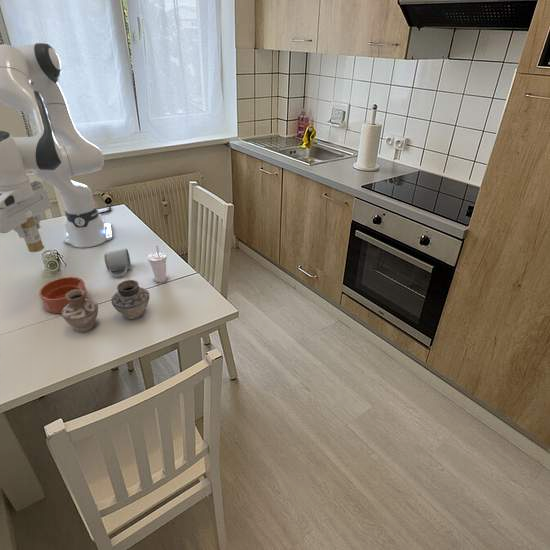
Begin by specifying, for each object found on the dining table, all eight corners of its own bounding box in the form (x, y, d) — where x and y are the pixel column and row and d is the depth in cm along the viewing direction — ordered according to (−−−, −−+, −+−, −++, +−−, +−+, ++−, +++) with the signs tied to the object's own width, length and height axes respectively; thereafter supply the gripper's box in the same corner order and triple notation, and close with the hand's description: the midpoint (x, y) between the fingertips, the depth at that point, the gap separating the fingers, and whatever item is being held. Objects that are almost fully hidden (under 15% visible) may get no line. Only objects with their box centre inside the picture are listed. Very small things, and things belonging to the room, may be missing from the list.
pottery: (66, 320, 121) (55, 288, 115) (148, 299, 131) (142, 269, 125) (68, 342, 113) (56, 309, 107) (155, 318, 123) (149, 286, 116)
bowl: (50, 292, 134) (45, 279, 131) (91, 288, 136) (88, 275, 133) (39, 316, 123) (33, 302, 120) (84, 311, 125) (79, 297, 122)
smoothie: (165, 285, 138) (159, 250, 131) (148, 283, 139) (141, 248, 132) (173, 275, 143) (167, 241, 136) (156, 273, 145) (150, 240, 137)
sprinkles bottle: (37, 244, 128) (24, 206, 120) (47, 247, 126) (34, 209, 119) (25, 250, 124) (10, 211, 117) (34, 254, 123) (20, 214, 115)
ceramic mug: (108, 265, 149) (103, 247, 145) (131, 262, 151) (127, 244, 147) (107, 280, 141) (102, 262, 136) (131, 276, 143) (127, 258, 139)
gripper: (31, 177, 123) (44, 217, 131) (-23, 202, 107) (-5, 247, 114) (49, 179, 122) (61, 220, 130) (-4, 205, 106) (14, 249, 113)
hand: (30, 232), depth 122 cm, fingers closed on sprinkles bottle, 4 cm apart
